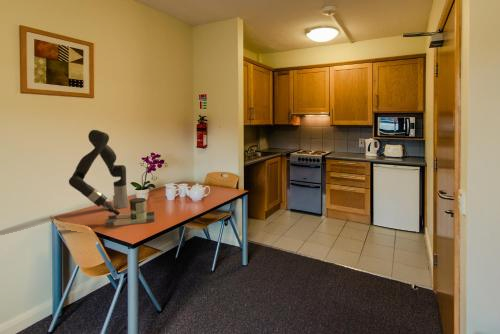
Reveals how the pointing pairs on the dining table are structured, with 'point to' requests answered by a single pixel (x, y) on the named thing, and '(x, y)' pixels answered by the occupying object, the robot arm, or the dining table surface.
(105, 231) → the dining table surface
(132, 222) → the push track
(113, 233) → the dining table surface
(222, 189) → the dining table surface
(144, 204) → the coffee can
